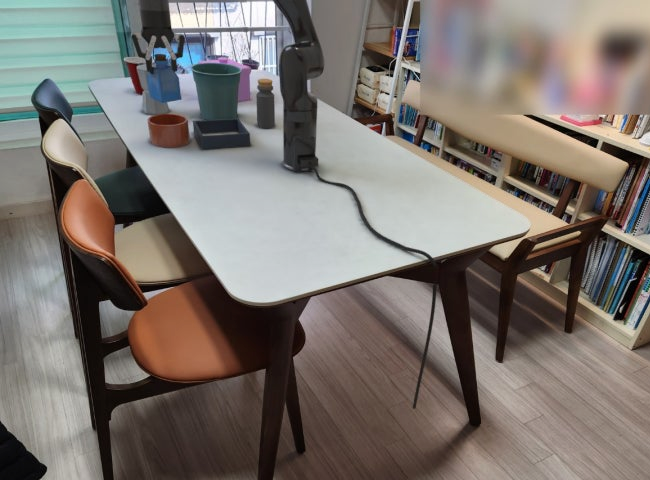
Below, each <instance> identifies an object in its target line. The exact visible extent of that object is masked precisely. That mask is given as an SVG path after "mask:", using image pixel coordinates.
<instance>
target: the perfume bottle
mask: <svg viewBox="0 0 650 480" xmlns="http://www.w3.org/2000/svg"><path fill="white" fill-rule="evenodd" d="M153 60H154V62H155V64H156V66H154V67H152V70H153V74H150V72H148V74H147V80H148V87H149V94H150V98H152V99H154V100H156V101H159V102H161V103H166V102H167V103H170V102H176V101H181V100H182V95H181V85H180V77H179V76H178V74H177V73H176V72H174V71H173V70H172V68H171V66H170V67H169V66H168V63H169V62H168V59H167V54H165V53H154V59H153Z"/></svg>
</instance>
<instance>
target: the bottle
mask: <svg viewBox="0 0 650 480" xmlns="http://www.w3.org/2000/svg"><path fill="white" fill-rule="evenodd" d="M257 83H258V85H257V86H256V89H257V90H258V92H256V94H255V95H256V97H255V98H256V99H255V100H256V123H257V125H256V126H257V128H259V129H266V130H267V129H273V128H275V126H276V114H275V112H276V111H275V110H276V109H275V108H276V105H275V103H276V102H275V94H274V93H273V91H274V85H273V80H272V79H270V78H258V79H257Z"/></svg>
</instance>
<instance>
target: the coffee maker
mask: <svg viewBox="0 0 650 480" xmlns="http://www.w3.org/2000/svg"><path fill="white" fill-rule="evenodd" d="M150 59H151V63H152V59H153V56H152V55H151V57H150ZM154 66H156V64H152V67H154ZM137 72H138V76H139V79H140V83H141V86H142V89H144V91H143V94H142V99H141V100H142V101H141V102H142V105H141V106H142V107H141V110H142V113H143V114H145V115H148V116H149V115H150V116H154V115H158V114H169V112H170V108H169V104H168V102H166V103H161V102H159V101H156V100H154V99H152V98H150V94H149V87H148V80H147V74H148V71H147V69H146V63H139V66H137Z"/></svg>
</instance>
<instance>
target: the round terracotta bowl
mask: <svg viewBox="0 0 650 480" xmlns="http://www.w3.org/2000/svg"><path fill="white" fill-rule="evenodd" d="M146 121H147V127H148V134H149V140H150V143H151V144H152V145H154V146H157V147H162V148H178V147H182V146H186V145H187V144H189V143H190V141H191V136H190V127H189V118H188V117H186V116H185V115H182V114H179V113H167V114H158V115H150V116H148V117H147V119H146Z"/></svg>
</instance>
